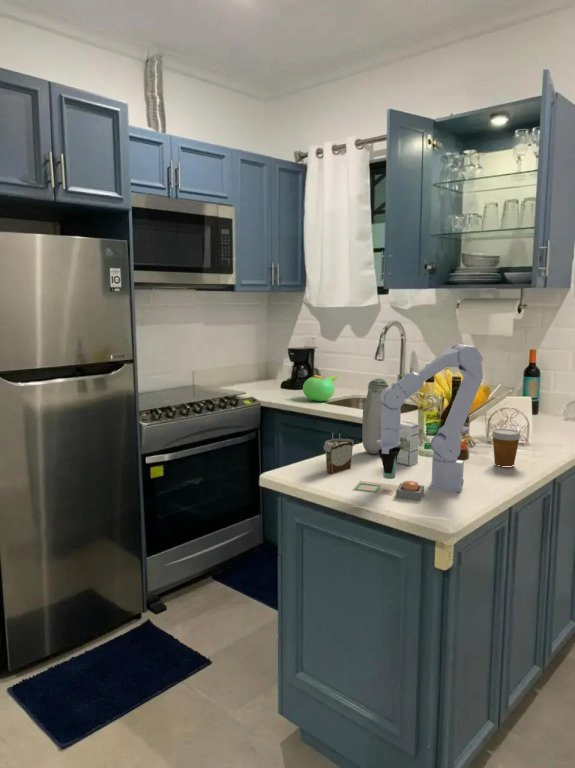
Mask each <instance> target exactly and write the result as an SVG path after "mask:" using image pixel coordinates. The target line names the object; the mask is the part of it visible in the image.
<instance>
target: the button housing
mask: <svg viewBox="0 0 575 768" xmlns="http://www.w3.org/2000/svg"><path fill="white" fill-rule="evenodd" d="M424 494H425V485H422V484H421V485H420V484H418V492H417V491H409V490H403V482H400V483H399V484H398V487H397V488H396V490H395V498H396V499H402V500H403V499H404V500H409V501H410V500H412V501H418V502H421V501H422V498H423V497H424Z"/></svg>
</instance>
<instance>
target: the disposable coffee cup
mask: <svg viewBox="0 0 575 768" xmlns="http://www.w3.org/2000/svg"><path fill="white" fill-rule="evenodd" d="M491 437H492V442H493V444H492V445H493V457H494V458H493V459H494V465H495V464H496V465H500V466H512V465H514V466H515V462H516V457H517V453H518V447H519V443H520V442H519V441H520V439H521V437H522V436H521V434H520V431H518V430H514V429H508V428H497V429H495V428H494V429H493V431H492V433H491ZM496 465H495V466H496Z"/></svg>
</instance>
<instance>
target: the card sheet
mask: <svg viewBox="0 0 575 768" xmlns="http://www.w3.org/2000/svg"><path fill="white" fill-rule="evenodd" d="M398 486H399V484H390V483H380V482H373V481H365V480H359V481H358V483H357V484H355V486H354V487H353V488H352V491H354V492H363V493H369V494H370V493H371V494H377V495H385V496H393V494H394V493H395V492H396V489H397V488H398Z"/></svg>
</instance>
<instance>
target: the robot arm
mask: <svg viewBox="0 0 575 768" xmlns="http://www.w3.org/2000/svg"><path fill="white" fill-rule="evenodd" d="M483 358H484V357H483V356H482V354H481V352H480V350H479V349H478V348H477V347H475V346H473V345H465V344H463V343H455V344H453V345H452V346H451V347H450V348H449V347H448V348H447V349H445V350H444V351H443V352H442V353H440V355H438V356H437V357H436V358H435V359H433V360H432V361H430V362H429V363H428V364H427V365H426V366H424V367H422V368H421V369H420V370H419V371H418V372H415V371H411V372H406V373H404V374H403V377H402V378H401V379H399V380H397V381H396V382H395V383H394V382H392V383H391V384H390V385H391V387H387V388H385V389H384V390H383V391H382V393H381V395H380V396H379V399H380V401H381V403H382V412H381V440H377V444H380V445H381V447H382V449H379V450H378V453H379V454H378V455H379V457H380V459H381V462H382V469H384V473H389V474H391V473H392V470H393V465H394V460H395V457H396V460H397V456H398V454H399V451H400V449H401V446H400V422H401V414H402V413H401V407H402V406H403V404H404V403H405V401H406V400H407V399H408V398H410V397H411V396H412V395H414V394H416V393H417V392H419V391H420V390H421V389H423V387H424V383H425V382H426V381H428V379H430V378H432V377H434V376H435V375H437V374H438V373H440V372H442V371H443V370H445V369H446V368H458V370H459V372H460V374H461V375H462V380H461V381H460V385H459V387H458V390H457V392H456V395H455V398H454V400H453V402H452V405H451V408H450V410H449V412H448V415H447V417H446V420H445V422H444V425H442V426H441V427H440V428H439V429H438V432H436V434H435V435H434V436H433V437H432V439H431V441H430V448H431V450H432V451H433V454H432V460H431V461H432V465H431V481H430V483H429V485H428V489H432V490H440V491H449V492H456V493H461V492H462V489H463V487H464V486H463V485H464V482H465V481H464V468H465V467H464V466H465V465H464V464H465V462H464V460H462V459H458V457H459V456H460V454H461V443H462V442H463V441H462V440H463V439H462V430H463V428H464V425H465V423H466V421H467V418H468V415H469V413H470V411H471V409H472V406H473V403H474V402H475V398H476V396H477V394H478V391H479V389H480V386H481V383H482V381H483V379H484V372H483V365H482V364H483V363H482V362H483Z"/></svg>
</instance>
